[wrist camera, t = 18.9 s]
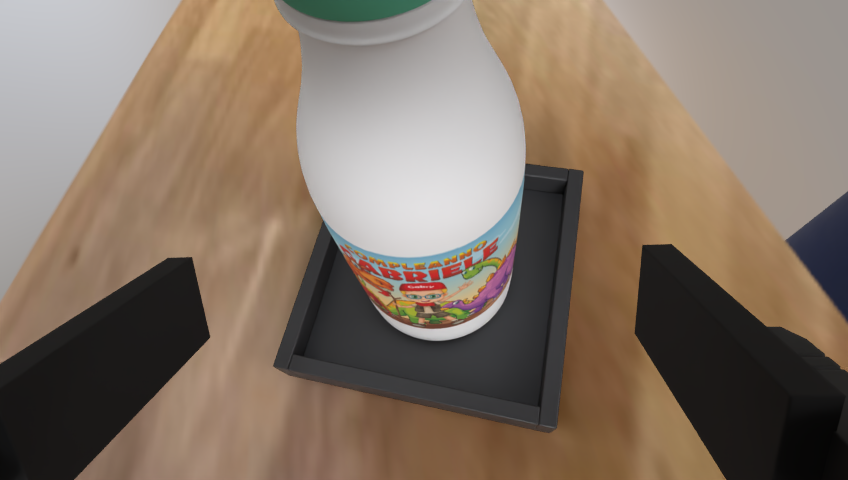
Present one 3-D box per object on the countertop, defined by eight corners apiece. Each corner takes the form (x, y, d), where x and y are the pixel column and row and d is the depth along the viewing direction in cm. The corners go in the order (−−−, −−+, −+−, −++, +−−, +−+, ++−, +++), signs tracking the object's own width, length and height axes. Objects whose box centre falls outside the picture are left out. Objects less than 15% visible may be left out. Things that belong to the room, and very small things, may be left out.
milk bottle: (357, 232, 28) (146, -186, 11) (485, 197, 29) (491, -275, 11) (385, 362, 25) (143, 66, 7) (531, 321, 25) (652, -70, 7)
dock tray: (576, 192, 29) (583, 170, 27) (550, 433, 24) (556, 429, 21) (358, 163, 32) (349, 141, 30) (288, 375, 26) (272, 366, 24)
